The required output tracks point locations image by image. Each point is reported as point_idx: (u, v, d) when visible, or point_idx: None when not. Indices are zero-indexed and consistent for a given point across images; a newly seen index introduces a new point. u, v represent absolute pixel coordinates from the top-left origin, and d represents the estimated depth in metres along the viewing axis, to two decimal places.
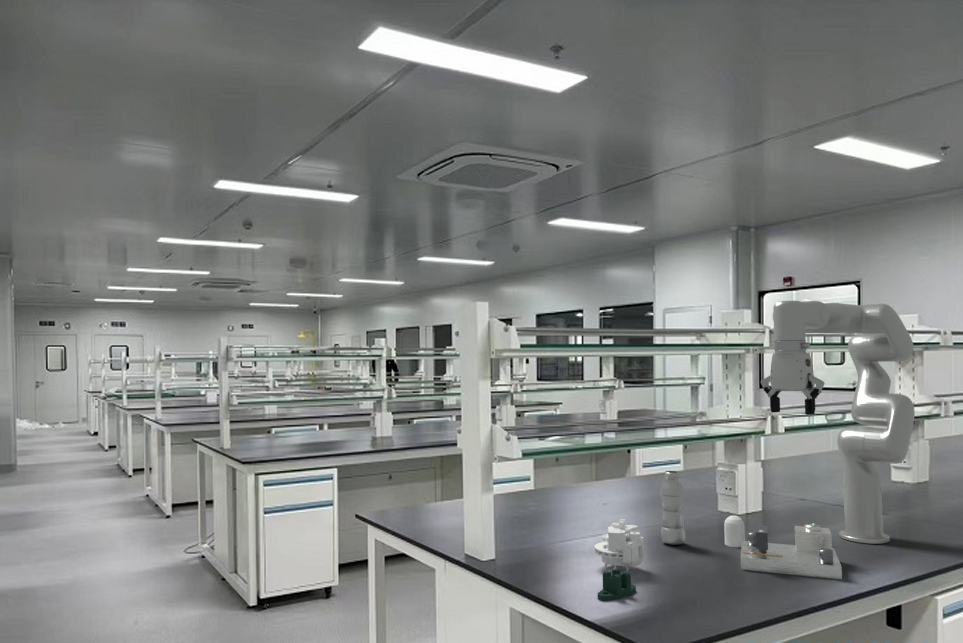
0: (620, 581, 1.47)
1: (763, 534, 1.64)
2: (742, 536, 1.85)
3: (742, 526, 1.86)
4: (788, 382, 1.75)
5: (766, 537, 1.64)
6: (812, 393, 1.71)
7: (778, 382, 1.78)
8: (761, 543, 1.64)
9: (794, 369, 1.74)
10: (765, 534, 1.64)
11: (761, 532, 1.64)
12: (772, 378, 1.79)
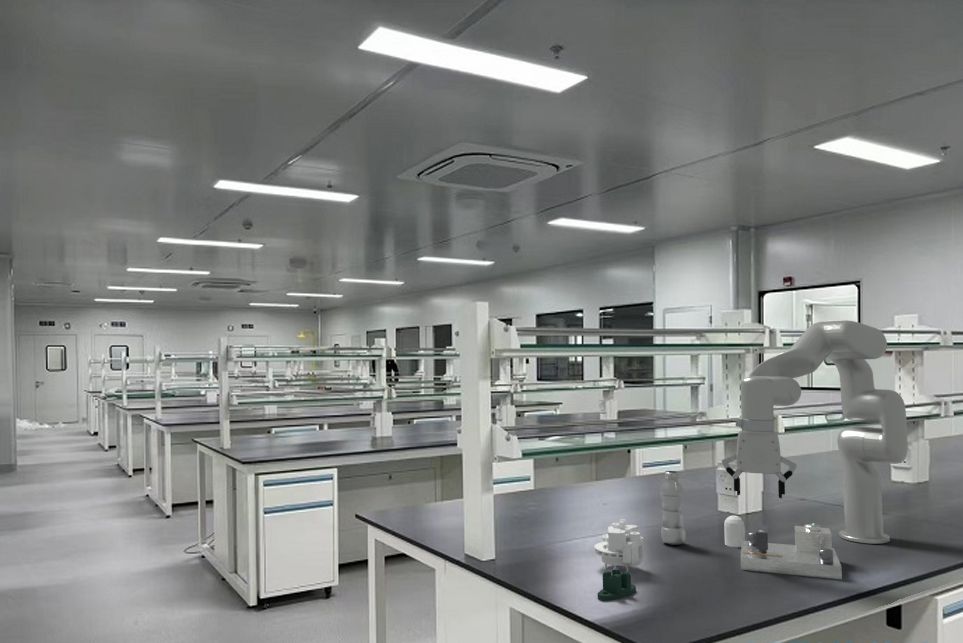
0: (620, 581, 1.47)
1: (763, 534, 1.64)
2: (742, 536, 1.85)
3: (742, 526, 1.86)
4: None
5: (766, 537, 1.64)
6: None
7: None
8: (761, 543, 1.64)
9: None
10: (765, 534, 1.64)
11: (761, 532, 1.64)
12: None
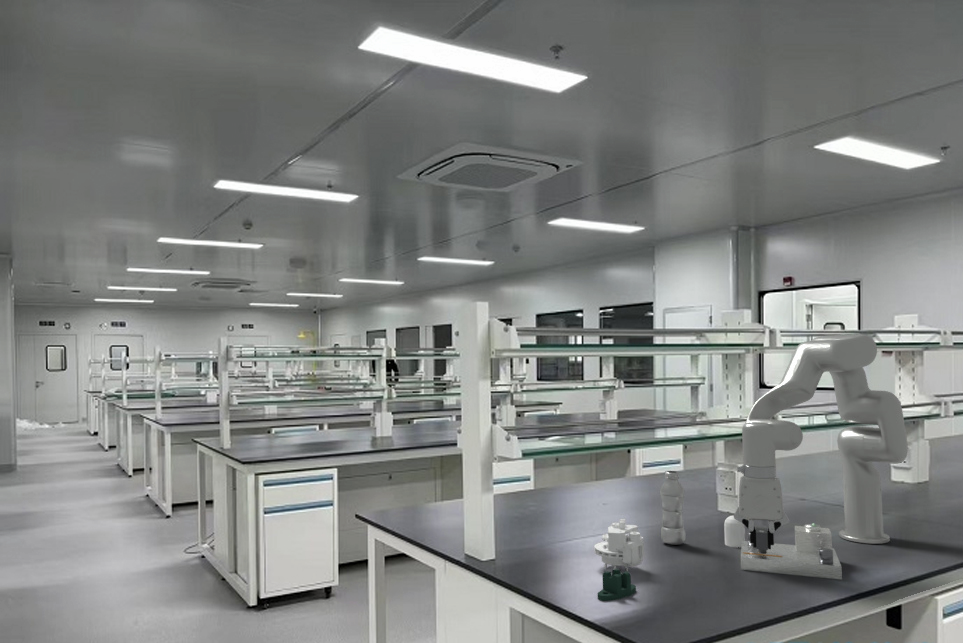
0: (620, 581, 1.47)
1: (763, 534, 1.64)
2: (742, 536, 1.85)
3: (742, 526, 1.86)
4: None
5: (766, 537, 1.64)
6: None
7: None
8: (761, 543, 1.64)
9: None
10: (765, 534, 1.64)
11: (761, 532, 1.64)
12: None
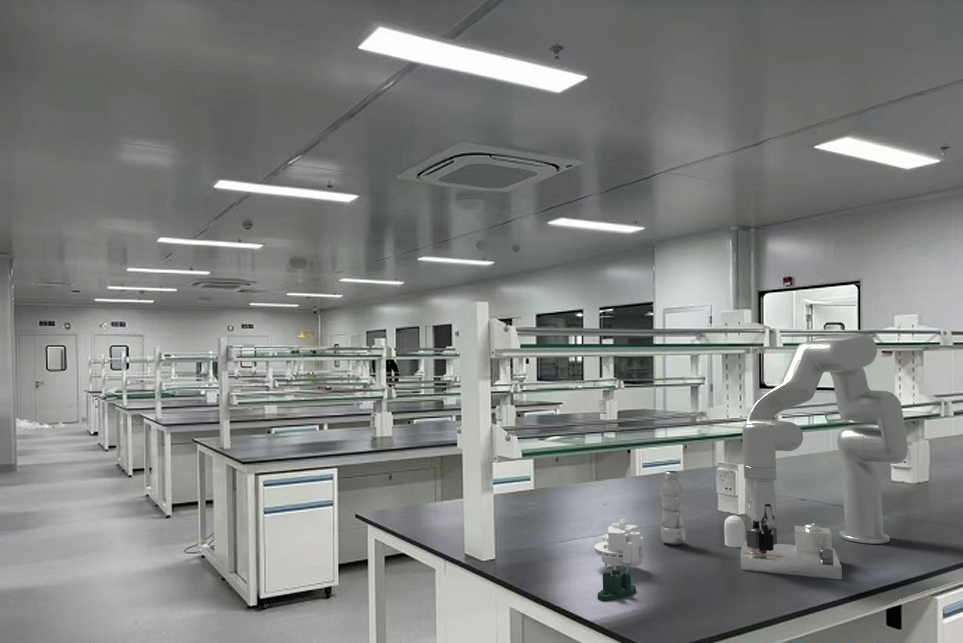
0: (620, 582, 1.47)
1: (752, 533, 1.65)
2: (742, 536, 1.85)
3: (742, 526, 1.86)
4: None
5: (754, 536, 1.65)
6: None
7: None
8: (750, 541, 1.66)
9: None
10: (754, 533, 1.65)
11: (751, 530, 1.66)
12: (775, 509, 1.64)
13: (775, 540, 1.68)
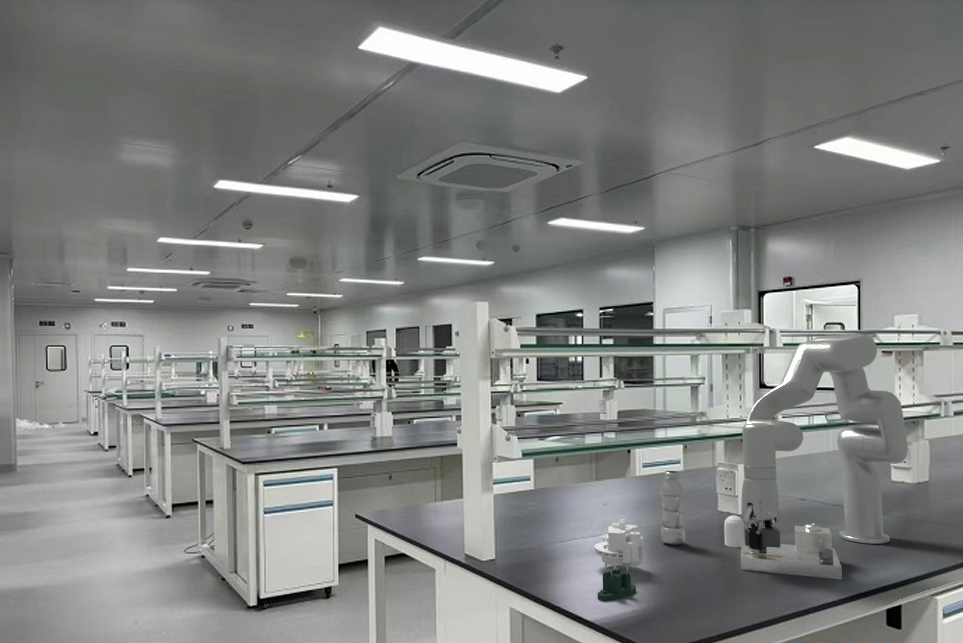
0: (620, 581, 1.47)
1: (744, 529, 1.69)
2: (742, 536, 1.85)
3: (742, 526, 1.86)
4: (770, 510, 1.67)
5: (744, 533, 1.68)
6: None
7: (765, 512, 1.65)
8: (744, 538, 1.69)
9: (774, 496, 1.68)
10: (744, 530, 1.68)
11: (745, 527, 1.69)
12: (760, 509, 1.64)
13: (777, 543, 1.66)
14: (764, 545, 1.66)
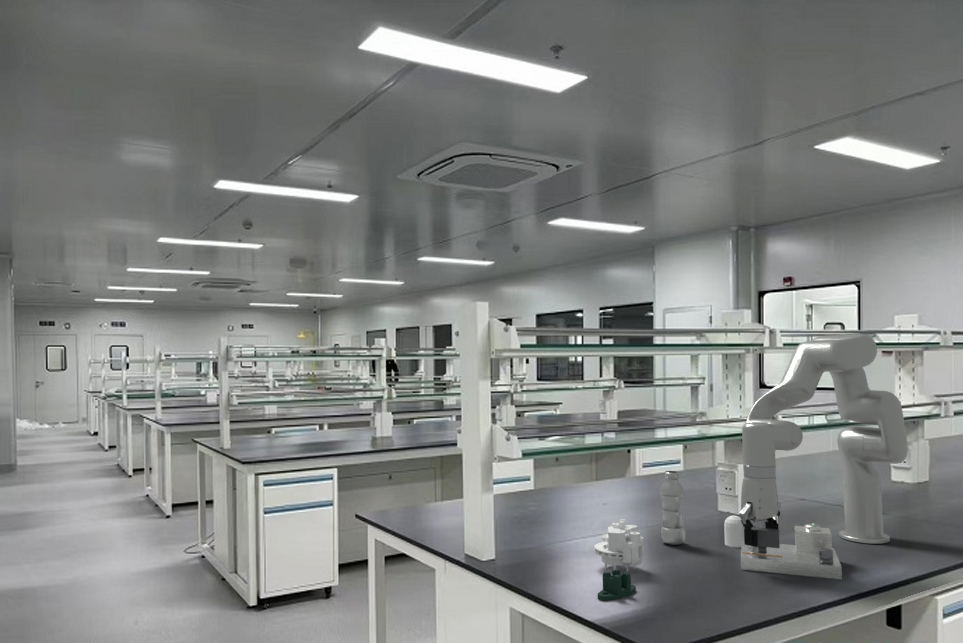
0: (620, 582, 1.47)
1: None
2: (742, 536, 1.85)
3: (742, 526, 1.86)
4: (770, 509, 1.67)
5: None
6: None
7: (764, 512, 1.65)
8: None
9: (774, 495, 1.68)
10: None
11: None
12: (760, 508, 1.64)
13: (776, 544, 1.65)
14: (763, 545, 1.66)
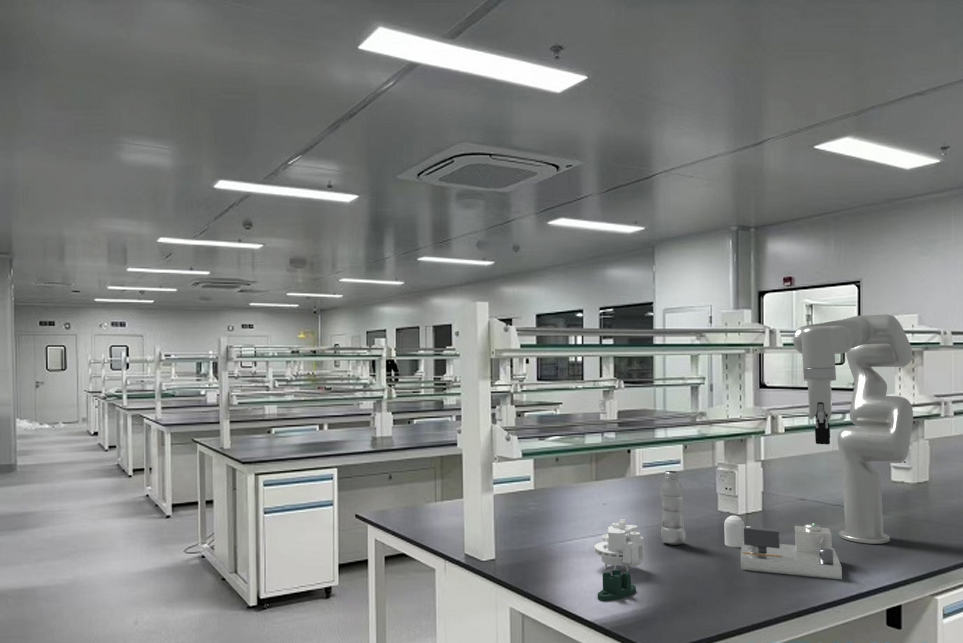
0: (620, 582, 1.47)
1: (744, 529, 1.69)
2: (742, 536, 1.85)
3: (742, 526, 1.86)
4: None
5: (744, 532, 1.69)
6: None
7: None
8: None
9: None
10: (744, 529, 1.69)
11: (745, 527, 1.70)
12: (830, 407, 1.70)
13: (776, 544, 1.65)
14: (763, 545, 1.66)
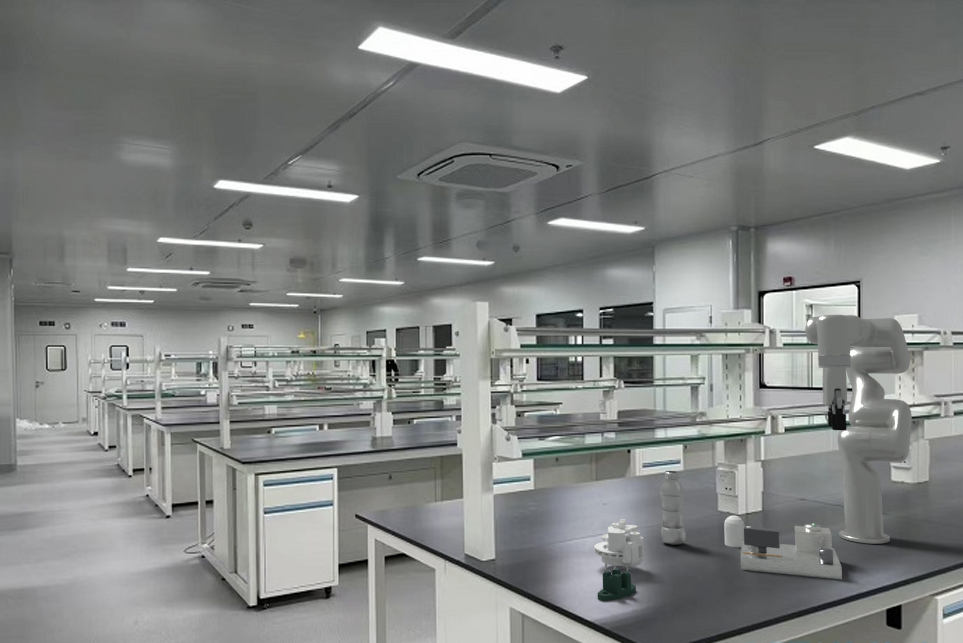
0: (620, 581, 1.47)
1: (744, 529, 1.69)
2: (742, 536, 1.85)
3: (742, 526, 1.86)
4: None
5: None
6: None
7: None
8: None
9: None
10: (744, 529, 1.69)
11: (745, 527, 1.70)
12: (846, 394, 1.71)
13: (776, 544, 1.65)
14: (763, 545, 1.66)
